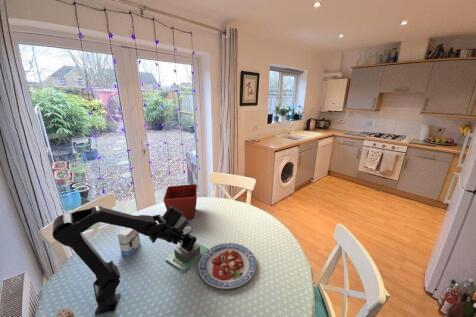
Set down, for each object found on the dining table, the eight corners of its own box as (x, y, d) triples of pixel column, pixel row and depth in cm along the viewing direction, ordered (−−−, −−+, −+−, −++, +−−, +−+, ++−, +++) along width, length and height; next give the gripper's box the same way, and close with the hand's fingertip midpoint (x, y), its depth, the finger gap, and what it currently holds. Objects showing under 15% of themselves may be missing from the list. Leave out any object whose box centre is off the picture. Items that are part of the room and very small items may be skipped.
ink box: (129, 256, 99) (125, 235, 95) (121, 254, 100) (116, 234, 96) (141, 244, 107) (138, 224, 103) (133, 242, 108) (129, 223, 104)
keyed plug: (187, 258, 95) (185, 234, 92) (180, 254, 98) (178, 231, 94) (195, 251, 100) (193, 228, 96) (188, 247, 102) (186, 225, 98)
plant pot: (170, 208, 140) (167, 186, 135) (198, 205, 143) (197, 183, 138) (166, 225, 122) (162, 199, 117) (198, 221, 125) (196, 196, 120)
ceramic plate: (194, 254, 100) (194, 249, 99) (243, 241, 109) (243, 236, 108) (205, 301, 77) (205, 295, 76) (266, 280, 86) (266, 275, 85)
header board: (183, 272, 89) (182, 264, 88) (165, 260, 96) (164, 252, 94) (208, 250, 102) (207, 242, 101) (191, 241, 108) (190, 234, 107)
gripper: (191, 221, 83) (210, 230, 95) (162, 208, 93) (183, 218, 105) (178, 249, 80) (200, 255, 91) (149, 232, 89) (172, 239, 101)
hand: (188, 240), depth 98 cm, fingers closed on keyed plug, 4 cm apart
